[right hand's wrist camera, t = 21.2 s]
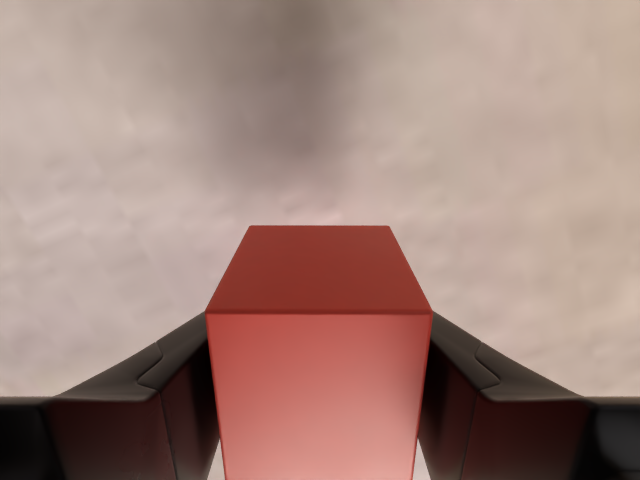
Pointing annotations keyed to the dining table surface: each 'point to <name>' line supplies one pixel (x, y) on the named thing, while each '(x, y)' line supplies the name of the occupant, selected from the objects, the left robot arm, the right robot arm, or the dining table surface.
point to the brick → (318, 355)
